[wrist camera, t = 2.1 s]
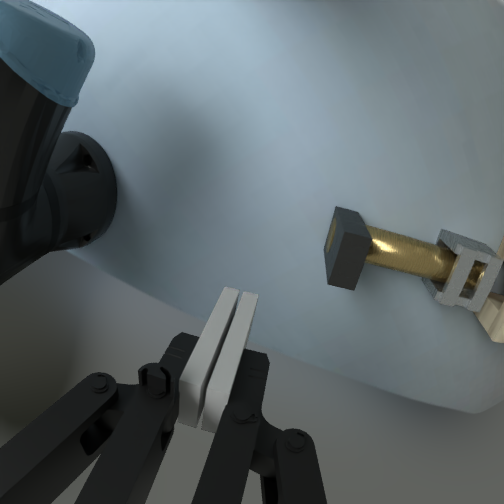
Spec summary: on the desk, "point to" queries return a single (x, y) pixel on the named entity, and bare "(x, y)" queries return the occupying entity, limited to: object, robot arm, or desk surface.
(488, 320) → the socket
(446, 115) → the desk surface
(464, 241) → the sleeve
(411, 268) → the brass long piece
